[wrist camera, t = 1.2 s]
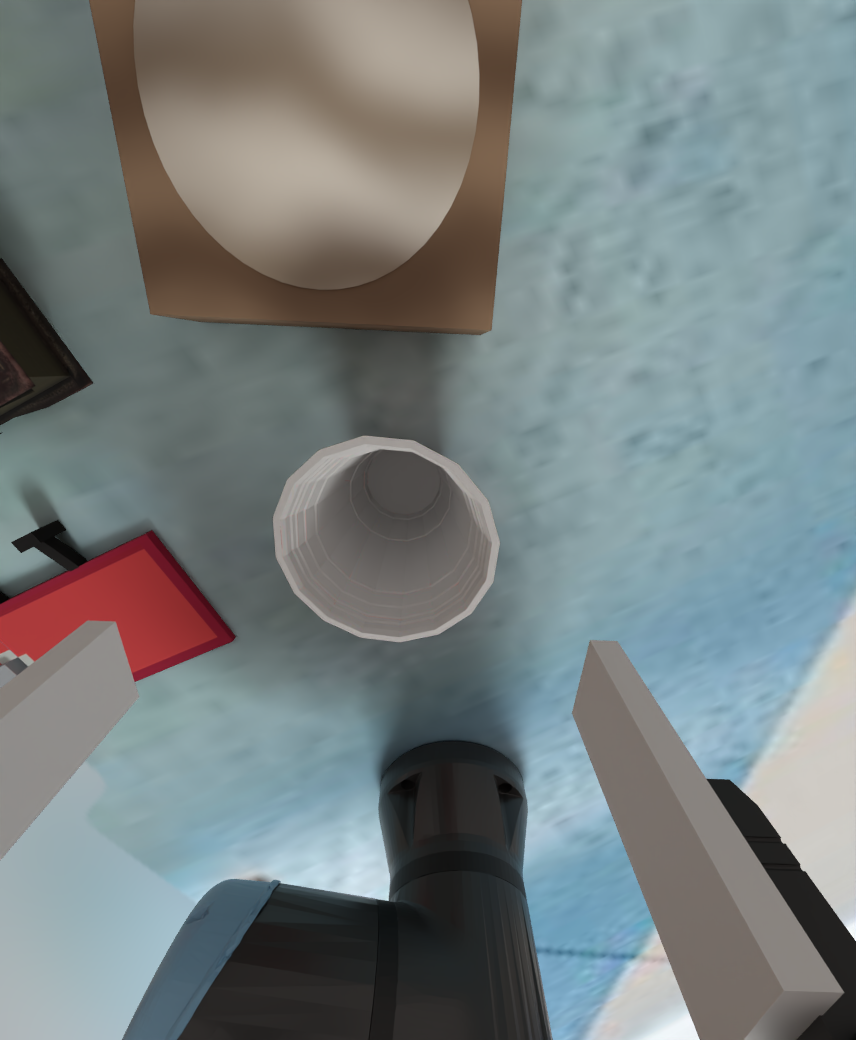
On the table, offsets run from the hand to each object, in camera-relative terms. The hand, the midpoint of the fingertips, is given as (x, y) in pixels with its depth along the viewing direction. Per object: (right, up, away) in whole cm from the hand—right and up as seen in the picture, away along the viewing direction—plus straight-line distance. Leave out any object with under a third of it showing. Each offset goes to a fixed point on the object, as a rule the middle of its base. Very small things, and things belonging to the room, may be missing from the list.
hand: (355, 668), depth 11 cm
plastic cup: (0, +7, +18) cm, 20 cm away
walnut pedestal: (-3, +25, +11) cm, 27 cm away
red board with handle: (-32, -5, +24) cm, 40 cm away
